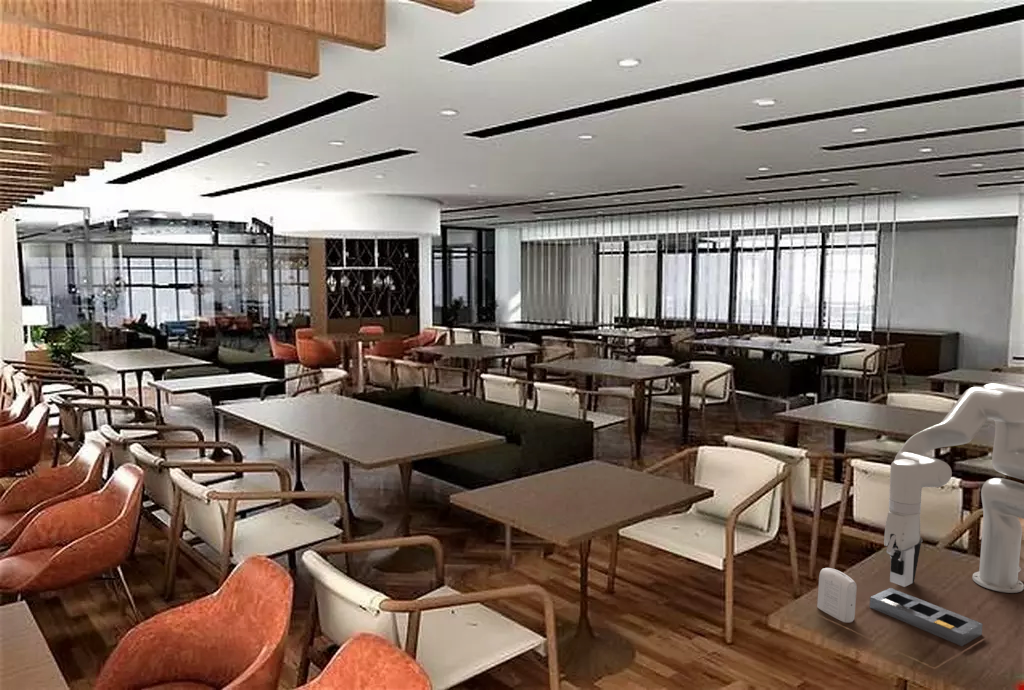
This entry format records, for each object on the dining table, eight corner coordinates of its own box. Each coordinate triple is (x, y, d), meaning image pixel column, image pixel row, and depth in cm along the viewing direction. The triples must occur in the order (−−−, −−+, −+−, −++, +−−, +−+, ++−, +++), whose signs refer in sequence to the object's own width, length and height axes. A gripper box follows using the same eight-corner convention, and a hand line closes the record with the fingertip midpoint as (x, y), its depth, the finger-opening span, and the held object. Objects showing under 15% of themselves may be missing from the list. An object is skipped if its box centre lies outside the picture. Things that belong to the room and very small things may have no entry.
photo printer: (857, 621, 193) (859, 577, 192) (845, 625, 192) (848, 580, 190) (825, 605, 203) (828, 562, 201) (814, 608, 201) (816, 565, 199)
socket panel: (889, 599, 206) (890, 587, 205) (981, 636, 186) (982, 622, 186) (869, 608, 201) (870, 596, 200) (961, 647, 181) (962, 633, 180)
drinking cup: (923, 587, 213) (927, 522, 210) (894, 585, 214) (899, 520, 212) (914, 576, 220) (918, 512, 218) (887, 574, 222) (891, 511, 219)
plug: (898, 577, 201) (899, 540, 200) (912, 582, 198) (914, 545, 196) (889, 581, 199) (891, 543, 198) (904, 587, 196) (906, 548, 194)
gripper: (907, 495, 203) (904, 558, 206) (873, 508, 194) (870, 574, 197) (935, 503, 197) (932, 567, 199) (901, 517, 188) (898, 584, 190)
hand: (901, 570), depth 198 cm, fingers closed on plug, 4 cm apart
